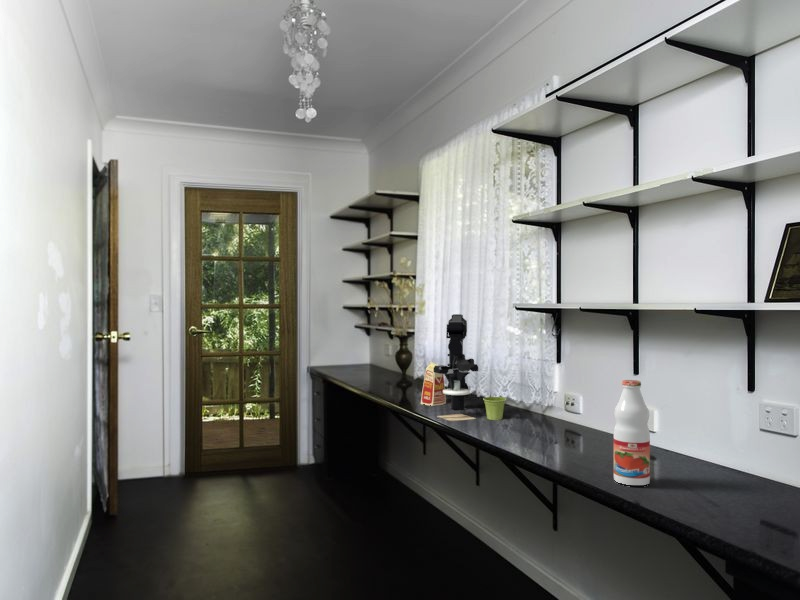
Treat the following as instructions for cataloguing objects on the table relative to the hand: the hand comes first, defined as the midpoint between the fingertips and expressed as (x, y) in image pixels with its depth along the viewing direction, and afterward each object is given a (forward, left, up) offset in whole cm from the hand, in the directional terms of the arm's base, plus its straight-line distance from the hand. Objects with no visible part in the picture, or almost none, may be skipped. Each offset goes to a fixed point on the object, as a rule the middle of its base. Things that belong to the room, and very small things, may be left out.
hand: (456, 389), depth 263 cm
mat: (0, 0, -12) cm, 12 cm away
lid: (0, 0, -2) cm, 2 cm away
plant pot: (+9, +13, -13) cm, 20 cm away
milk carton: (-35, +9, -13) cm, 38 cm away
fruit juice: (+98, -3, -13) cm, 99 cm away
